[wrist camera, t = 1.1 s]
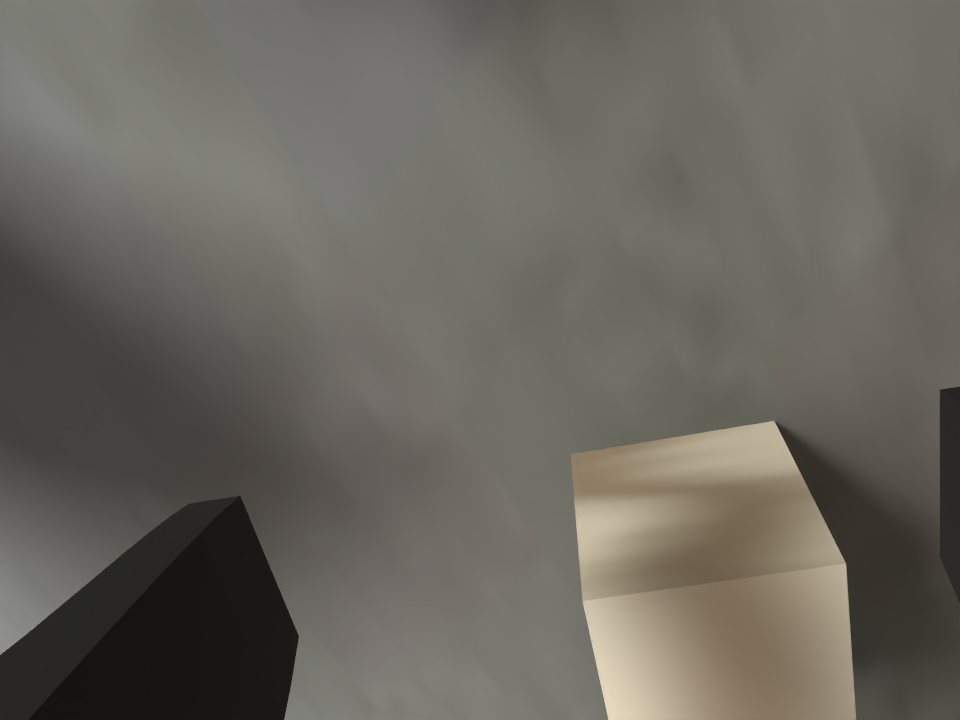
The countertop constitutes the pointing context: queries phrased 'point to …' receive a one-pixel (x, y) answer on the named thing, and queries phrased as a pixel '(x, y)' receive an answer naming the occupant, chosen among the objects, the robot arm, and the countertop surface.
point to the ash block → (711, 581)
